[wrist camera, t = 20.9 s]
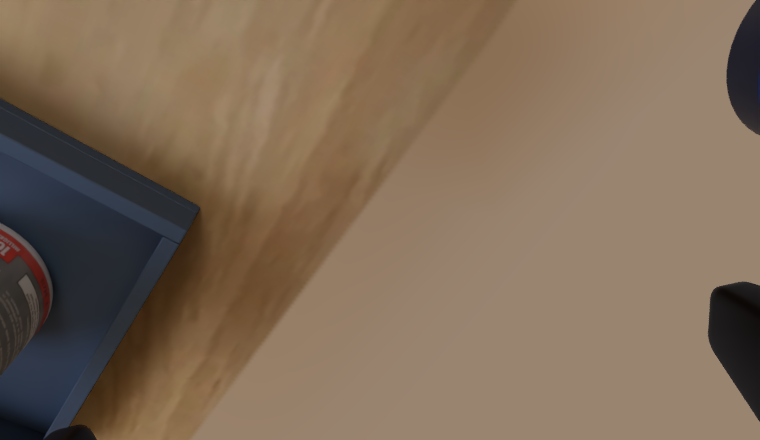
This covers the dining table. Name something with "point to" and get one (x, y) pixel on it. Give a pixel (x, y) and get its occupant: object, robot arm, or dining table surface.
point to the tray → (78, 263)
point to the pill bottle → (20, 294)
